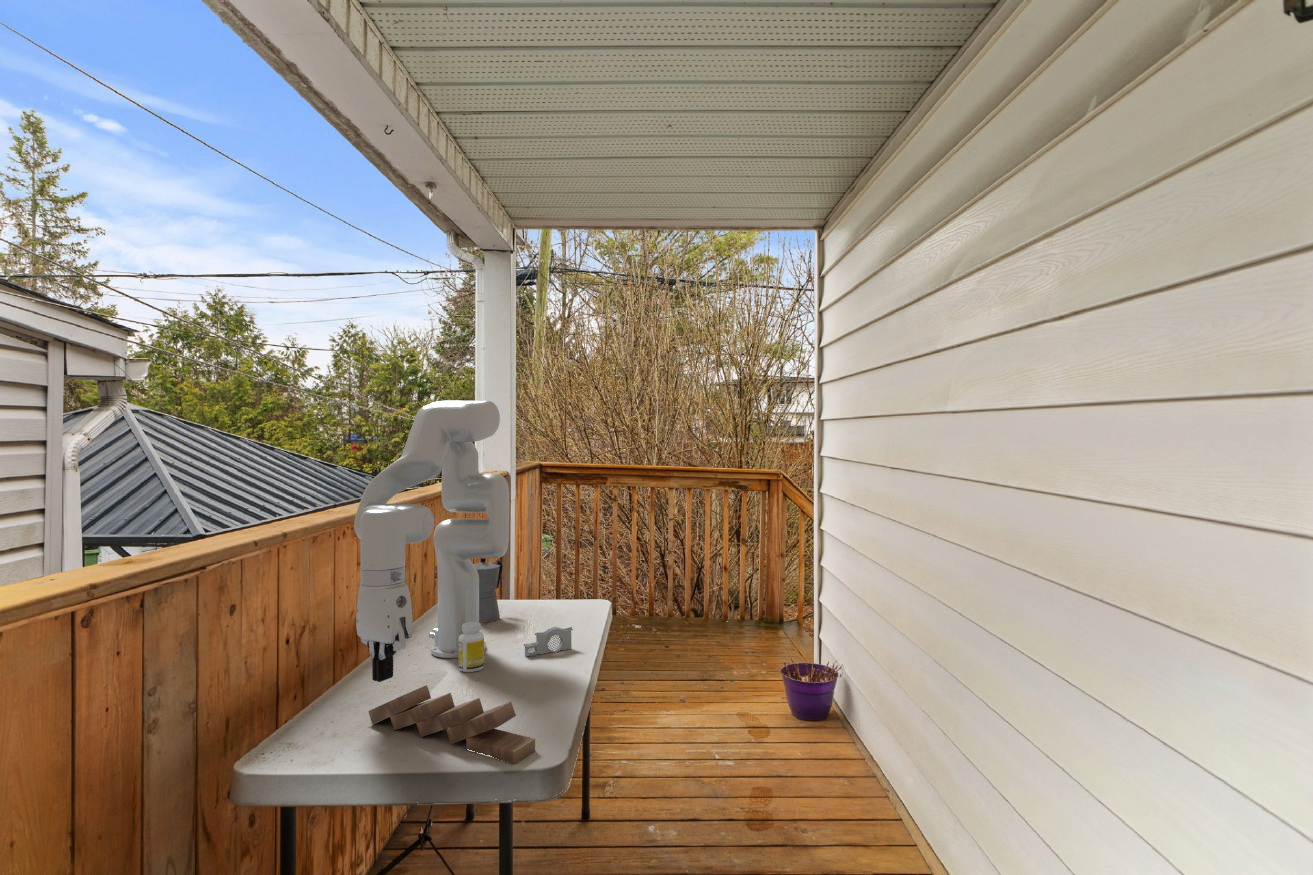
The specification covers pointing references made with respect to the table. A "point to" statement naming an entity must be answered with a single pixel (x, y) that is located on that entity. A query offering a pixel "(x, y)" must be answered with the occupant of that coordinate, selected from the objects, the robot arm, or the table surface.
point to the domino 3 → (450, 717)
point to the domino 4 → (481, 723)
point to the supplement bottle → (471, 647)
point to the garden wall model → (545, 637)
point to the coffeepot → (488, 589)
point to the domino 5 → (502, 745)
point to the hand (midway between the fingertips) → (382, 678)
